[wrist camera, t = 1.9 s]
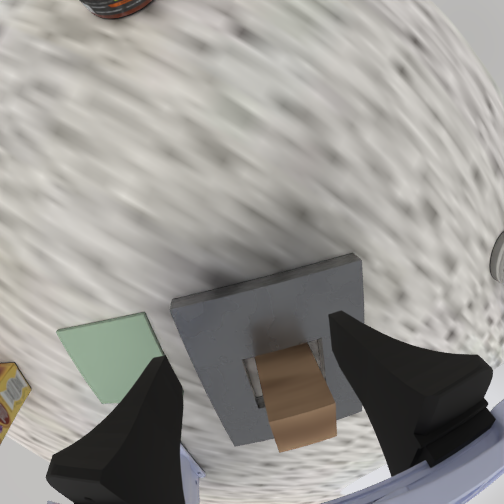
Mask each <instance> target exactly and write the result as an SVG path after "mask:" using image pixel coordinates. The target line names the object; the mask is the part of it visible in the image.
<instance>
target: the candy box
mask: <svg viewBox="0 0 504 504" xmlns="http://www.w3.org/2000/svg"><path fill="white" fill-rule="evenodd" d="M30 391H31V388H30V386H29V385H28V383H27V382H26V380H25V379H24V377H23V376H22V374H21V372H20V371H19V369H18V368H17V366H16V365H15V363H0V444H1V442H2V440H3V439H4V437H5V435H6V433H7V431H8V429H9V428H10V426H11V424H12V422H13V420H14V419H15V417H16V415H17V413H18V411H19V410H20V408H21V406H22V404H23V403H24V401H25V399H26V398H27V396H28V395H29V393H30Z"/></svg>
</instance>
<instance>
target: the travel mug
mask: <svg viewBox="0 0 504 504" xmlns="http://www.w3.org/2000/svg"><path fill="white" fill-rule="evenodd" d="M490 269H491V274H492V276H493V278H494V279H495V280H497V281H499V282H500V283H502V284H504V232H503V233H502V234H501V236H500V237H499V238H498V240H497V242H496V244H495V246H494V249H493V252H492V256H491V264H490Z"/></svg>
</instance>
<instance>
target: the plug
mask: <svg viewBox="0 0 504 504" xmlns="http://www.w3.org/2000/svg"><path fill="white" fill-rule="evenodd" d="M255 361H256V365H257V370H258V375H259V379H260V384H261V388H262V393H263V398H264V402H265V407H266V411H267V416H268V420H269V424H270V427H271V430H272V433H273V436H274V438H275V441H276V444H277V447H278V450H279V453H280V452H284V451H288V450H292V449H296V448H299V447H303V446H307V445H310V444H313V443H317V442H320V441H323V440H326V439H329V438H332V437H335V436H337V427H336V403H335V401H334V398H333V396H332V394H331V392H330V390H329V388H328V386H327V383H326V381H325V379H324V377H323V375H322V373H321V371H320V369H319V366H318V364H317V362H316V360H315V358H314V356H313V354H312V352H311V350H310V347H309V345H308V343H307V342H306V343H303V344H300V345H296V346H293V347H289V348H285V349H282V350H278V351H274V352H270V353H267V354H263V355H259V356H255Z"/></svg>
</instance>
